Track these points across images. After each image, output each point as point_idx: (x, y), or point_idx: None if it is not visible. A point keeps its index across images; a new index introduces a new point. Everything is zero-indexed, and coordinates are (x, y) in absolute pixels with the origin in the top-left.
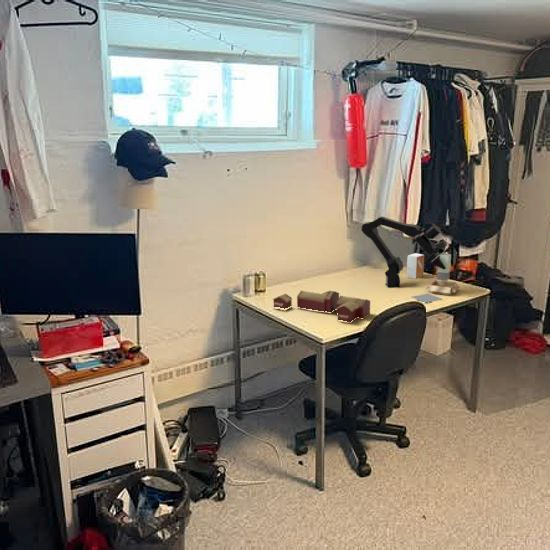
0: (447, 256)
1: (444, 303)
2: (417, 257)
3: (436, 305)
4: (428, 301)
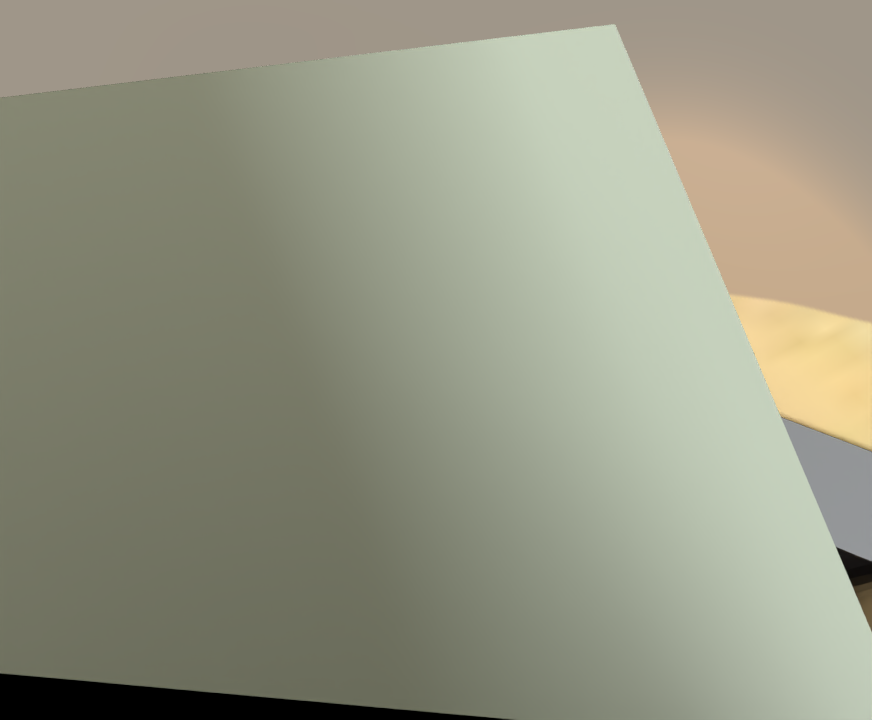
0: (619, 123)
1: (745, 323)
2: None
3: (854, 354)
4: (861, 457)
